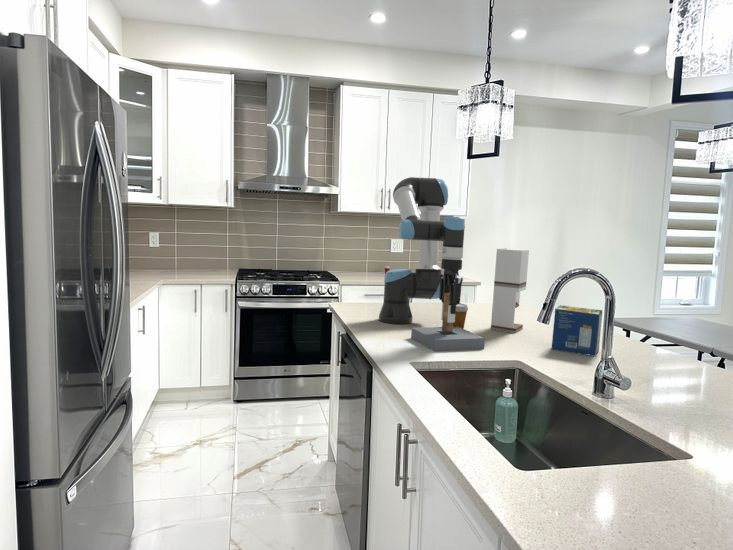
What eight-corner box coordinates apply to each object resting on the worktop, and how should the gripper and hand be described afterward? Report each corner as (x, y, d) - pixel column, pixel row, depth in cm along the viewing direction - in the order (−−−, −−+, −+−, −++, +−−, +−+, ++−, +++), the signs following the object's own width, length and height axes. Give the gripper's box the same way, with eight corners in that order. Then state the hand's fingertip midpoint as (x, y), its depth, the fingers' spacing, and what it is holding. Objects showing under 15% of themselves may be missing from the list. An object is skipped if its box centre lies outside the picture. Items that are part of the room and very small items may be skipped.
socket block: (411, 337, 200) (411, 327, 199) (456, 336, 206) (457, 326, 206) (434, 351, 181) (435, 340, 180) (484, 348, 188) (484, 338, 187)
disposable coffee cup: (465, 331, 216) (467, 303, 215) (467, 336, 207) (469, 307, 205) (442, 330, 217) (444, 302, 216) (443, 335, 207) (445, 305, 206)
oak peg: (440, 329, 194) (442, 292, 193) (449, 329, 195) (451, 292, 194) (445, 331, 190) (447, 294, 189) (454, 331, 192) (457, 294, 190)
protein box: (556, 344, 201) (559, 304, 200) (599, 350, 194) (603, 310, 192) (550, 349, 192) (554, 308, 191) (595, 356, 185) (599, 313, 183)
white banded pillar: (515, 333, 217) (522, 250, 214) (490, 329, 223) (496, 248, 219) (522, 329, 227) (529, 249, 223) (498, 325, 233) (504, 248, 229)
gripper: (432, 256, 197) (428, 316, 199) (454, 260, 181) (450, 326, 183) (449, 256, 199) (445, 316, 202) (473, 260, 183) (468, 325, 186)
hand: (447, 320), depth 193 cm, fingers closed on oak peg, 4 cm apart
